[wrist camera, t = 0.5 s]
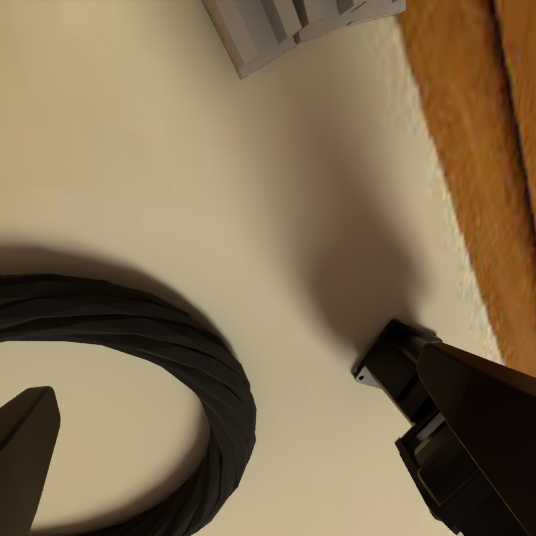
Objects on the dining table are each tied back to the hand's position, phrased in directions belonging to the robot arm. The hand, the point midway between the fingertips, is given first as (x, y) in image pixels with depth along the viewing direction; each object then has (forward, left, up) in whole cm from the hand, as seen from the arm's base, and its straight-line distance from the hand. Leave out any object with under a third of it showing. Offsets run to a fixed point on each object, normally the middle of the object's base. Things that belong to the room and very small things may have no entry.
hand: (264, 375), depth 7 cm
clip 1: (+3, -11, -13) cm, 17 cm away
